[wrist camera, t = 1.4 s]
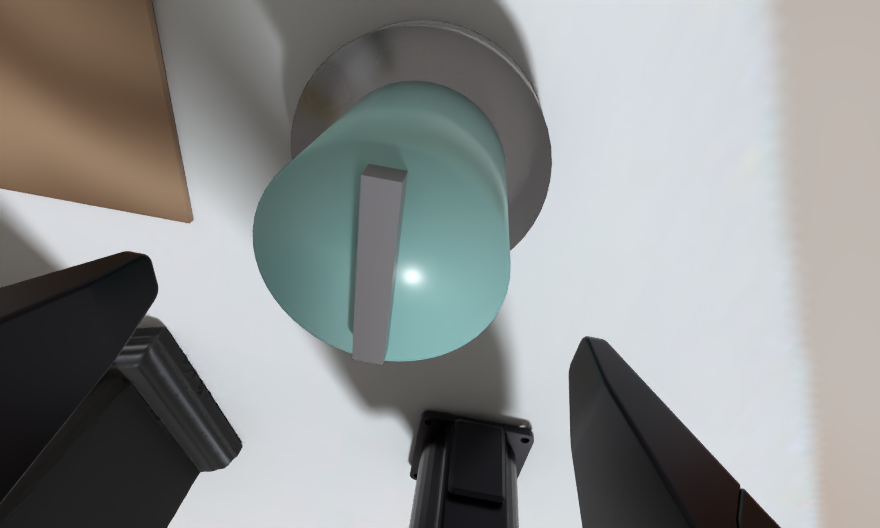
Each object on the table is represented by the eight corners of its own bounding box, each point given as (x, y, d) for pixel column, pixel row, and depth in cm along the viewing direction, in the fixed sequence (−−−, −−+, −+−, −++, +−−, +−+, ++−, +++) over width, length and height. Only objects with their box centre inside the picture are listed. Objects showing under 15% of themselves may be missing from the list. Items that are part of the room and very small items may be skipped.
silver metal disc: (513, 269, 19) (515, 297, 18) (313, 232, 19) (295, 256, 18) (579, 46, 14) (590, 55, 13) (309, -3, 14) (284, 0, 13)
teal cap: (485, 260, 17) (480, 397, 11) (332, 231, 17) (253, 354, 11) (525, 99, 13) (545, 183, 8) (334, 64, 14) (222, 123, 8)
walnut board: (193, 220, 20) (189, 223, 19) (-66, 172, 20) (-74, 174, 20) (126, -133, 13) (119, -135, 13) (-265, -202, 13) (-280, -206, 13)
